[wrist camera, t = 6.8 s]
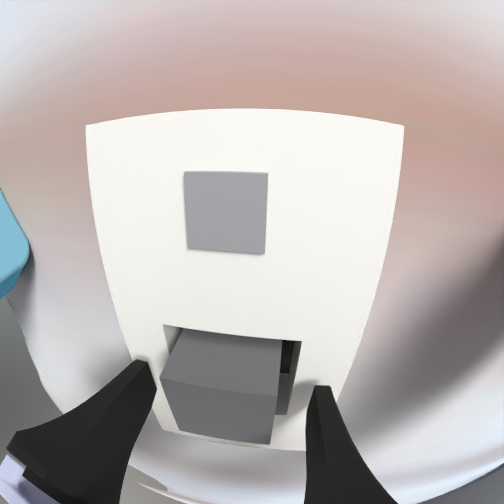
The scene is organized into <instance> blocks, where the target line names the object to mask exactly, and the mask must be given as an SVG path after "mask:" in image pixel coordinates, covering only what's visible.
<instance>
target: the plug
mask: <svg viewBox="0 0 504 504" xmlns="http://www.w3.org/2000/svg"><path fill="white" fill-rule="evenodd" d="M281 350H282V340H281V339H270V338H259V337H249V336H240V335H232V334H224V333H216V332H209V331H202V330H195V329H188V328H183V330H182V332H181V334H180V336H179V338H178V340H177V342H176V344H175V346H174V348H173V350H172V352H171V354H170V356H169V358H168V360H167V362H166V364H165V366H164V368H163V370H162V372H161V374H160V376H159V379H160V382H161V385H162V388H163V390H164V393H165V396H166V399H167V401H168V404H169V406H170V409H171V411H172V414H173V416H174V419H175V421H176V424H177V426H178V428H179V430H180V431H184V432H189V433H193V434H198V435H203V436H208V437H214V438H219V439H225V440H232V441H239V442H247V443H256V444H266V445H270V441H271V435H272V429H273V422H274V416H275V409H276V403H277V396H278V385H279V374H280V362H281Z"/></svg>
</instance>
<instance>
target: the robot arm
mask: <svg viewBox="0 0 504 504" xmlns="http://www.w3.org/2000/svg"><path fill="white" fill-rule="evenodd" d="M156 392H157V387H156V384H155V381H154V378H153V375H152V373H151V370H150V367H149V364H148V362H146V361H142V360H138V359H136V360H134V361H133V362H132V363H131V364H130V365H129V366H128V367H126V368H125V369H124V370H123V371H122V372H121V373H120V374H119V375H117V376H116V377H115V378H114V379H113V380H112V381H111V382H109V383H108V384H107V385H106V386H105V387H103V388H102V389H101V390H100V391H99V392H97V393H96V394H95V395H93V396H92V397H91V398H89V399H88V400H87V401H85V402H84V403H82V404H81V405H79V406H78V407H76V408H74V409H73V410H71V411H69V412H68V413H66V414H64V415H62V416H60V417H58V418H56V419H54V420H52V421H49V422H47V423H44V424H42V425H39V426H36V427H33V428H29V429H25V430H22V431H17V432H16V433H15V435H14V437H13V438H12V440H11V441H10V443H9V445H8V446H7V450H8V451H9V452H10V453H11V454H12V455H13V456H15V457H16V458H17V459H18V460H19V461H21V462H22V463H23V464H24V465H26V466H27V467H26V469H25V468H24V467H23V466H21V465H20V464H19V463H18V462H16V461H15V460H14V459H13V458H11V457H10V456H9V455H7V456H6V457H5V459H4V461H3V462H2V464H1V466H0V494H1V495H2V496H3V497H4V498H5V499H6V500H7V502H8V503H9V504H119V500H120V494H121V489H122V484H123V479H124V475H125V472H126V468H127V464H128V461H129V458H130V455H131V451H132V449H133V446H134V444H135V442H136V439H137V437H138V435H139V433H140V431H141V429H142V427H143V425H144V423H145V420H146V418H147V416H148V414H149V412H150V410H151V408H152V405H153V402H154V398H155V395H156ZM305 439H306V468H307V479H306V491H305V500H304V504H398V503H397V502H396V501H395V500H394V499H393V498H392V497H391V496H390V495H389V494H388V493H387V491H386V490H385V489H384V488H383V487H382V485H381V484H380V483H379V482H378V480H377V479H376V478H375V477H374V475H373V474H372V472H371V471H370V469H369V468H368V467H367V465H366V463H365V462H364V460H363V459H362V457H361V455H360V454H359V452H358V450H357V448H356V446H355V445H354V443H353V441H352V439H351V437H350V435H349V433H348V431H347V428H346V426H345V424H344V422H343V419H342V417H341V415H340V412H339V409H338V407H337V404H336V401H335V398H334V395H333V392H332V389H331V387H330V386H329V385H315V386H314V389H313V392H312V395H311V398H310V402H309V405H308V408H307V412H306V427H305Z"/></svg>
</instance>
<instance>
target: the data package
mask: <svg viewBox="0 0 504 504" xmlns="http://www.w3.org/2000/svg"><path fill="white" fill-rule="evenodd" d="M28 257H29V243H28V240H27V237H26V236H25V234H24V232H23V231H22V229H21V227H20V225H19V224H18V222H17V220H16V218H15V216H14V215H13V213H12V211H11V209H10V207H9V205H8V203H7V201H6V199H5V197H4V195H3V193H2V191H1V189H0V299H1V298H2V297H3V296H4V295H5V294H7V293H8V292H9V291H10V290H11V289H12V288H13V286H14V285H15V283H16V281H17V279H18V277H19V275H20V273H21V271H22V269H23V267H24V266H25V264H26V262H27V260H28Z"/></svg>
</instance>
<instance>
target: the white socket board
mask: <svg viewBox="0 0 504 504" xmlns="http://www.w3.org/2000/svg"><path fill="white" fill-rule="evenodd" d="M403 135H404V126H402V125H397V124H392V123H388V122H382V121H377V120H371V119H365V118H359V117H353V116H345V115H338V114H329V113H320V112H309V111H297V110H279V109H209V110H191V111H178V112H168V113H159V114H150V115H143V116H136V117H129V118H123V119H117V120H111V121H106V122H101V123H96V124H91V125H87V126H86V144H87V160H88V172H89V182H90V190H91V198H92V206H93V212H94V219H95V225H96V230H97V236H98V241H99V246H100V251H101V256H102V261H103V265H104V269H105V273H106V278H107V282H108V286H109V289H110V293H111V297H112V300H113V304H114V307H115V311H116V314H117V317H118V321H119V324H120V327H121V330H122V333H123V336H124V339H125V342H126V345H127V348H128V351H129V353H130V356H131V359H132V361H134V360H136V359H138V360H142V361H146V362H148V364H149V367H150V370H151V373H152V375H153V378H154V381H155V384H156V387H157V392H156V395H155V398H154V402H153V405H152V409H153V411H154V413H155V416H156V418H157V420H158V422H159V424H160V426H161V428H162V430H165V431H169V432H173V433H177V434H181V435H185V436H189V437H194V438H199V439H203V440H208V441H214V442H219V443H225V444H232V445H239V446H246V447H255V448H265V449H276V450H294V451H306V439H305V427H306V412H307V408H308V405H309V402H310V398H311V395H312V392H313V389H314V386H315V385H329V386H330V387H331V389H332V392H333V395H334V398H335V401H336V402H337V400H338V397H339V395H340V393H341V390H342V388H343V386H344V383H345V381H346V378H347V376H348V373H349V371H350V368H351V365H352V363H353V360H354V358H355V355H356V352H357V349H358V347H359V344H360V341H361V338H362V335H363V332H364V329H365V326H366V323H367V320H368V317H369V313H370V310H371V307H372V303H373V300H374V296H375V293H376V289H377V286H378V282H379V278H380V274H381V270H382V266H383V262H384V258H385V254H386V249H387V245H388V240H389V235H390V230H391V225H392V220H393V214H394V209H395V203H396V196H397V190H398V183H399V175H400V167H401V158H402V147H403ZM183 328H188V329H195V330H202V331H209V332H216V333H224V334H232V335H240V336H249V337H259V338H270V339H281V340H295V343H294V349H293V354H292V360H291V366H290V372H289V373H280V374H279V385H278V396H277V403H276V409H275V416H274V422H273V429H272V435H271V441H270V445H266V444H256V443H247V442H239V441H232V440H225V439H219V438H214V437H208V436H203V435H198V434H193V433H189V432H184V431H180V430H179V428H178V426H177V424H176V421H175V419H174V416H173V414H172V411H171V409H170V406H169V404H168V401H167V399H166V396H165V393H164V390H163V388H162V385H161V382H160V379H159V376H160V374H161V372H162V370H163V368H164V366H165V364H166V362H167V360H168V358H169V356H170V354H171V352H172V350H173V348H174V346H175V344H176V342H177V340H178V338H179V336H180V334H181V332H182V330H183Z"/></svg>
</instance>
